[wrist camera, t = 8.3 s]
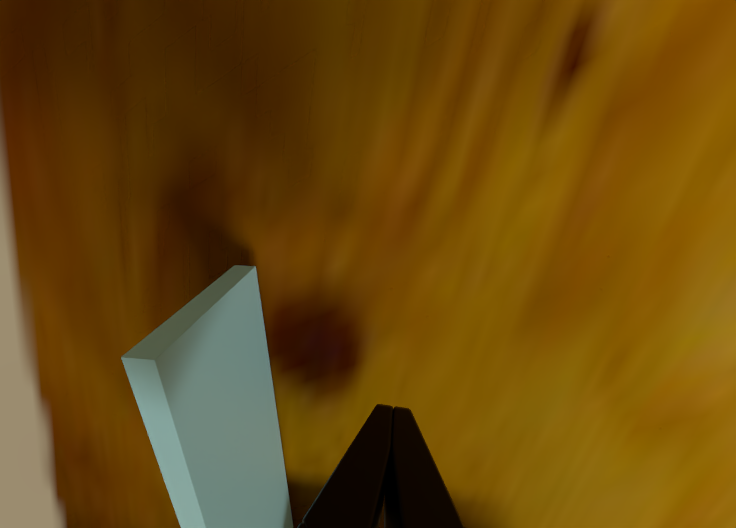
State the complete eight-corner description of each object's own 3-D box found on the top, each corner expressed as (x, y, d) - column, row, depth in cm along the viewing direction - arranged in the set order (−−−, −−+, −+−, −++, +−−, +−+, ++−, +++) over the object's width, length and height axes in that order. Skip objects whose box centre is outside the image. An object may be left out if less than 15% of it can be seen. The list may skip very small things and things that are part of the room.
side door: (294, 538, 18) (253, 685, 14) (263, 534, 19) (211, 677, 14) (255, 266, 12) (154, 360, 7) (208, 264, 12) (79, 354, 8)
